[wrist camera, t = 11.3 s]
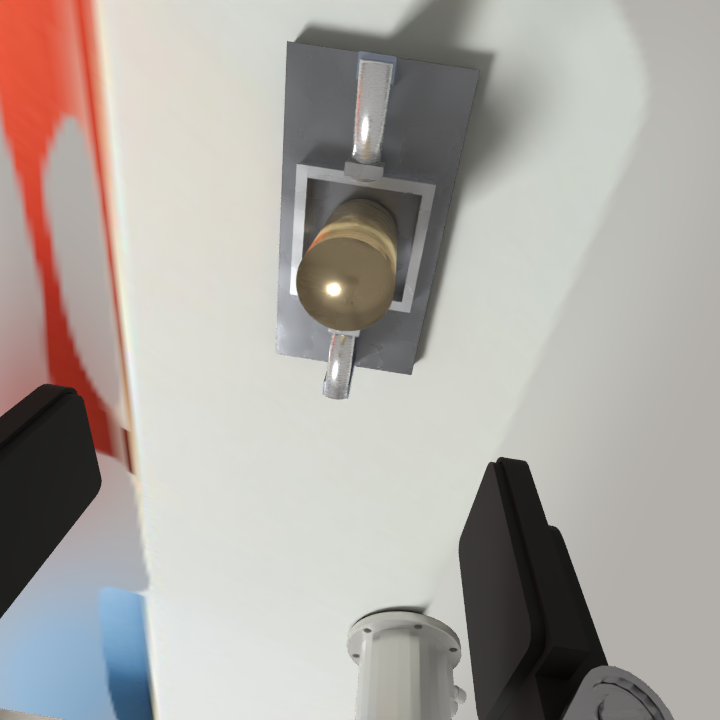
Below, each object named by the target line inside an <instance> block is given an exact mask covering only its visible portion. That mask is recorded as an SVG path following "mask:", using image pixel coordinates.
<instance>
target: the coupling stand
mask: <svg viewBox="0 0 720 720" xmlns="http://www.w3.org/2000/svg"><path fill="white" fill-rule="evenodd" d="M479 72H480V70H475V69H468V68H462V67H455V66H448V65H442V64H435V63H428V62H422V61H415V60H409V59H402V58H397V56H390V55H384V54H377V53H370V52H364V51H359V52H355V51H349V50H342V49H335V48H329V47H322V46H315V45H309V44H302V43H295V42H289V41H287V57H286V84H285V111H284V138H283V165H282V192H281V219H280V247H279V274H278V301H277V328H276V354H281V355H288V356H294V357H300V358H307V359H313V360H319V361H326V362H328V367H327V373H326V376H325V379H324V386H323V395H325V396H326V397H328V398H332V399H345V398H347V399H348V397H349V392H350V387H351V382H352V377H353V371H354V366H357V367H364V368H370V369H376V370H383V371H389V372H395V373H402V374H408V375H411V374H412V370H413V365H414V361H415V356H416V352H417V347H418V343H419V339H420V334H421V330H422V325H423V321H424V316H425V312H426V307H427V303H428V299H429V294H430V290H431V285H432V281H433V276H434V272H435V267H436V263H437V258H438V254H439V250H440V245H441V241H442V236H443V232H444V227H445V223H446V218H447V214H448V210H449V205H450V201H451V196H452V192H453V187H454V183H455V178H456V174H457V170H458V165H459V161H460V156H461V152H462V147H463V143H464V138H465V134H466V129H467V125H468V121H469V116H470V112H471V107H472V103H473V98H474V94H475V89H476V85H477V81H478V76H479ZM355 199H366V200H371V201H373V202H376V203H378V204H380V205H381V206H382V207H384V208H385V209H386V210H387V211H388V212H389V213H390V215H391V216H392V218H393V219H394V222H395V224H396V227H397V232H398V244H397V260H396V276H395V291H394V297H393V301H392V303H391V306H390V307H389V309H388V311H387V312H386V313H385V315H384V316H383V317H382V318H381V319H380V320H379V321H377V322H376V323H375V324H373V325H371V326H369V327H367V328H364V329H361V330H357V331H339V330H334V329H331V328H328V327H326V326H324V325H322V324H320V323H319V322H317V321H316V320H315V319H313V318H312V317H311V316H310V315H309V314H308V313H307V311H306V310H305V309H304V307H303V306H302V304H301V302H300V299H299V297H298V294H297V289H296V275H297V270H298V267H299V265H300V262H301V260H302V259H303V257H304V256H305V254H306V252H307V251H308V249H309V248H310V246H311V245H312V243H313V241H314V240H315V238H316V237H317V235H318V234H319V232H320V230H321V229H322V227H323V226H324V224H325V223H326V221H327V219H328V218H329V216H330V215H331V213H332V212H333V211H334V210H335V209H336V208H337V207H338V206H340V205H341V204H343V203H345V202H347V201H350V200H355Z"/></svg>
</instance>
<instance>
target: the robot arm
mask: <svg viewBox="0 0 720 720" xmlns="http://www.w3.org/2000/svg"><path fill="white" fill-rule="evenodd" d="M101 482H102V480H101V475H100V471H99V466H98V461H97V457H96V453H95V448H94V444H93V440H92V435H91V431H90V426H89V422H88V418H87V413H86V409H85V405H84V400H83V398H82V397H81V396H79V395H78V394H77V391H76V390H75V389H74V388H70V387H64V386H58V385H52V384H43V385H42V386H40V387H38V388H37V389H36V390H34V391H33V392H32V393H30V394H29V395H28V396H27V397H25V398H24V399H23V400H22V401H20V402H19V403H18V404H17V405H15V406H14V407H13V408H11V409H10V410H9V411H7V412H6V413H5V414H4V415H2V416H1V417H0V618H1V617H2V616H3V614H4V613H5V612H6V611H7V609H8V608H9V607H10V606H11V604H12V603H13V602H14V600H15V599H16V598H17V597H18V595H19V594H20V593H21V591H22V590H23V589H24V588H25V586H26V585H27V584H28V582H29V581H30V580H31V579H32V577H33V576H34V575H35V573H36V572H37V571H38V570H39V568H40V567H41V566H42V565H43V563H44V562H45V561H46V559H47V558H48V557H49V555H50V554H51V553H52V552H53V551H54V549H55V548H56V546H57V545H58V544H59V543H60V542H61V540H62V539H63V538H64V536H65V535H66V534H67V532H68V531H69V530H70V529H71V527H72V526H73V525H74V524H75V522H76V521H77V520H78V518H79V517H80V516H81V514H82V513H83V512H84V511H85V509H86V508H87V507H88V506H89V504H90V503H91V502H92V500H93V499H94V498H95V497H96V495H97V494H98V492H99V490H100V487H101ZM459 561H460V569H461V578H462V587H463V595H464V604H465V613H466V622H467V630H468V639H469V648H470V656H471V665H472V674H473V683H474V692H475V701H476V709H477V715H478V719H479V720H674V719H673V717H672V715H671V713H670V711H669V709H668V708H667V707H666V706H665V704H664V703H663V701H662V700H661V699H660V697H659V696H658V695H657V694H656V693H655V692H654V691H653V690H652V689H651V688H650V687H649V686H648V685H647V684H646V683H645V682H643V681H642V680H641V679H639V678H637V677H636V676H635V675H633V674H631V673H630V672H628V671H625V670H623V669H620V668H618V667H613V666H608V663H607V660H606V657H605V654H604V652H603V649H602V646H601V643H600V641H599V638H598V635H597V632H596V629H595V627H594V624H593V621H592V618H591V615H590V612H589V610H588V607H587V604H586V601H585V599H584V595H583V593H582V590H581V587H580V584H579V582H578V579H577V576H576V573H575V570H574V567H573V565H572V562H571V559H570V556H569V553H568V550H567V548H566V545H565V542H564V539H563V537H562V535H561V533H560V531H559V530H558V529H557V528H556V527H554V526H550V525H548V523H547V520H546V517H545V514H544V511H543V508H542V505H541V502H540V499H539V496H538V493H537V490H536V487H535V484H534V481H533V478H532V475H531V472H530V469H529V466H528V464H527V462H526V461H522V460H516V459H510V458H504V457H500V458H498V459H497V461H496V463H494V462H490V463H489V464H488V466H487V468H486V471H485V474H484V476H483V479H482V482H481V484H480V487H479V490H478V492H477V495H476V498H475V500H474V503H473V505H472V508H471V511H470V513H469V516H468V519H467V521H466V524H465V527H464V529H463V532H462V535H461V537H460V541H459ZM347 651H348V653H349V656H350V657H351V658H352V660H353V661H354V662H355V663H356V664H357V665H358V666H359V673H358V685H357V697H356V709H355V720H452V717H453V716H454V715H455V714H456V712H457V710H458V703H459V704H463V703H464V702H465V700H466V692H465V691H464V690H463V689H461V688H459V687H458V686H456V685H454V681H453V669H454V668H455V667H456V666H457V664H458V663H459V662H460V658H461V645H460V641H459V638H458V637H457V635H456V633H455V632H454V631H453V630H452V629H451V628H450V627H448V626H447V625H445V624H444V623H442V622H441V621H439V620H436V619H434V618H432V617H429V616H426V615H423V614H418V613H413V612H403V611H392V612H383V613H377V614H374V615H370V616H368V617H366V618H364V619H361V620H360V621H359V622H357V623H356V624H355V625H354V626H353V627H352V628H351V629H350V632H349V634H348V640H347ZM0 720H65V719H60V718H54V717H48V716H41V715H35V714H29V713H23V712H17V711H10V710H5V709H0Z"/></svg>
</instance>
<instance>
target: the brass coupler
mask: <svg viewBox="0 0 720 720" xmlns="http://www.w3.org/2000/svg"><path fill="white" fill-rule="evenodd" d="M397 244H398V232H397V227H396V224H395V222H394V219H393V218H392V216H391V215H390V213H389V212H388V211H387V210H386V209H385V208H384V207H382V206H381V205H380V204H378V203H376V202H373V201H371V200H366V199H355V200H350V201H347V202H345V203H343V204H341V205H340V206H338V207H337V208H336V209H335V210H334V211H333V212H332V213H331V215H330V216H329V218H328V219H327V221H326V223H325V224H324V226H323V227H322V229H321V230H320V232H319V234H318V235H317V237H316V238H315V240H314V241H313V243H312V245H311V246H310V248H309V249H308V251H307V252H306V254H305V256H304V257H303V259H302V260H301V262H300V265H299V267H298V270H297V275H296V289H297V294H298V297H299V299H300V302H301V304H302V306H303V307H304V309H305V310H306V311H307V313H308V314H309V315H310V316H311V317H312V318H313V319H315V320H316V321H317V322H319V323H320V324H322V325H324V326H326V327H328V328H331V329H334V330H339V331H357V330H361V329H364V328H367V327H369V326H371V325H373V324H375V323H376V322H377V321H379V320H380V319H381V318H382V317H383V316H384V315H385V313H386V312H387V311H388V309H389V307H390V306H391V303H392V301H393V297H394V291H395V276H396V260H397Z"/></svg>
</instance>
